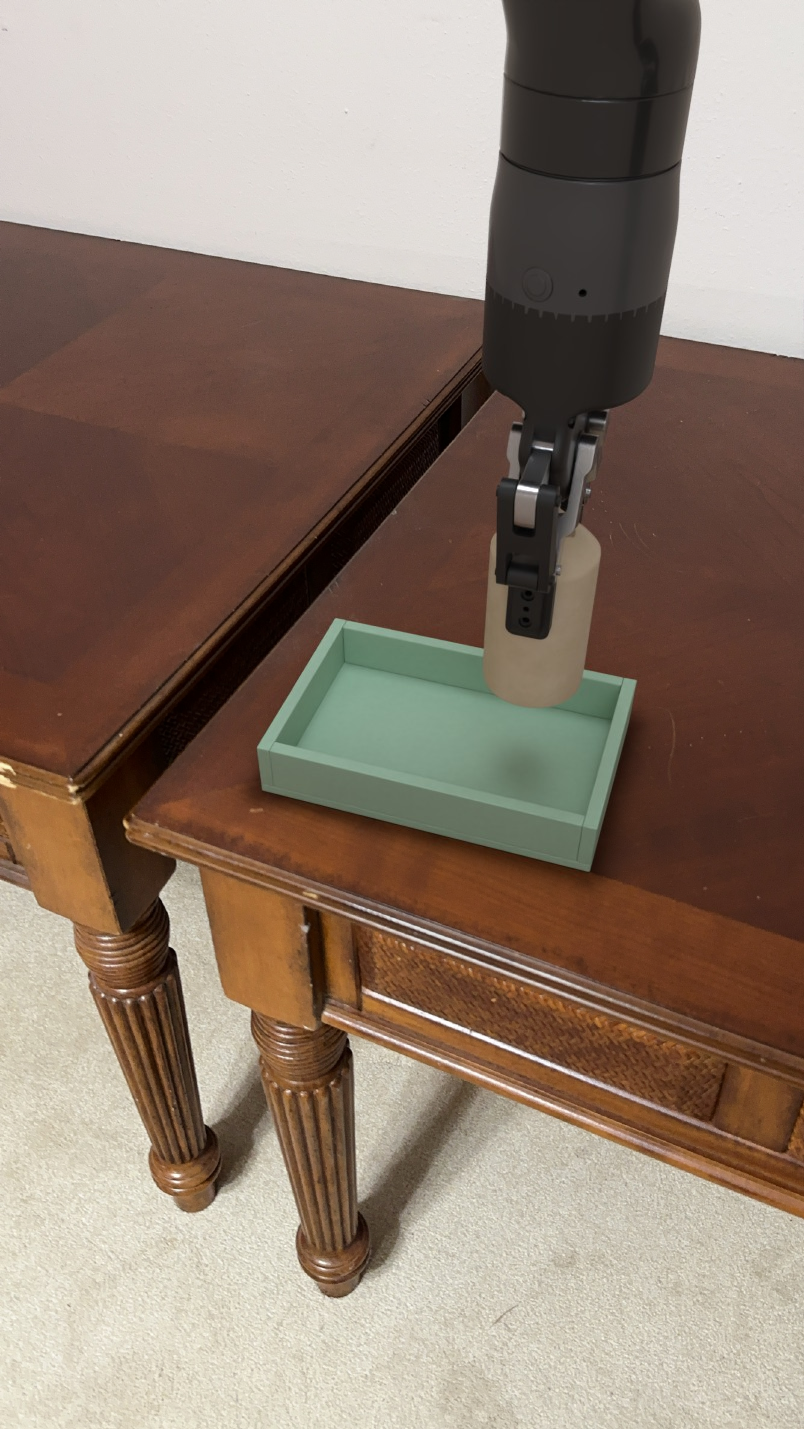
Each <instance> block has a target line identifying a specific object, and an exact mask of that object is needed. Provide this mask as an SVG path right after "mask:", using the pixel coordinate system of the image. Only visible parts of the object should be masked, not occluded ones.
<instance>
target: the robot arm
mask: <svg viewBox="0 0 804 1429" xmlns="http://www.w3.org/2000/svg"><path fill="white" fill-rule="evenodd" d="M501 5H502V6H501V7H502V11H503V16H504V24H505V31H506V34H505V35H506V44H505V52H504V63H503V73H502V92H501V107H500V108H501V109H500V127H499V144H498V145H499V149H498V158H497V166H496V172H495V173H496V174H495V178H494V183H493V189H492V193H491V200H490V206H489V215H488V216H489V217H488V218H489V219H488V231H487V232H488V234H487V251H486V252H487V253H486V255H487V256H486V272H485V285H484V286H485V288H484V305H483V306H484V307H483V308H484V309H483V324H482V326H483V327H482V343H481V369H482V373H483V376H484V377H485V379H486V381H487V382H488V383H489V384H490V386H491V387H492V388H493V389H494V390H495V391H496V392H498V393H499V394H501V395H502V396H504V397H507V398H508V399H509V400H511V401H512V402H513V403H515V404H516V405H517V406H518V407H519V408H520V409H521V410H522V412H521V422H520V421H513V422H512V423H511V427H510V431H509V435H508V440H507V441H508V442H507V447H506V458H507V461H508V462H509V470H508V476H502V477H501V480H500V482H499V484H497V485H496V490H495V497H496V532H497V534H496V568H495V576H496V584H501V585H507V586H508V596H507V608H506V621H505V628H506V630H507V631H508V632H509V633H511V634H513V635H518V636H523V637H528V638H533V639H538V640H543V639H545V638H547V636H548V634H549V632H550V629H551V626H552V618H553V610H554V601H555V593H556V584H557V578H558V576H560V575H561V572H562V565H560V564H561V559H562V553H563V548H564V542H565V537H566V536H567V535H569V534H571V533H572V532H573V531H574V530H575V529H576V528H577V527H578V524H579V523H580V524H581V525H582V522H583V514H584V505H587V503H588V499H591V496H592V490H593V489H592V488H591V483H592V482H594V481H596V480H597V478H598V473H599V469H600V466H601V462H602V459H603V445H604V443H605V440H606V436H607V432H608V429H609V425H610V419H611V418H610V417H611V409H614V408H617V407H621V406H623V405H625V404H627V403H630V402H632V401H633V400H635V399H636V398H638V397H639V396H641V394H642V393H644V391H645V390H646V389H648V386H649V385H650V383H651V382H652V379H653V376H654V371H655V365H656V360H657V355H658V354H657V353H658V347H659V341H660V336H661V335H660V334H661V328H662V322H663V318H664V317H663V316H664V311H665V305H666V299H667V292H668V288H669V279H670V273H671V267H672V263H673V262H672V261H673V255H674V250H675V244H676V238H677V232H678V225H679V218H680V216H679V215H680V190H681V171H682V164H683V163H682V162H683V153H684V147H685V140H686V135H687V129H688V123H689V115H690V109H691V103H692V97H693V92H694V84H695V79H696V74H697V68H698V63H699V62H698V61H699V54H700V46H701V38H702V12H701V10H702V9H701V4H700V0H501ZM559 509H562V510H563V511H564V512H565V513H558V511H559Z"/></svg>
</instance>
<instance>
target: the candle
mask: <svg viewBox="0 0 804 1429" xmlns="http://www.w3.org/2000/svg"><path fill="white" fill-rule="evenodd" d="M558 513H565V512H564V511H563V510H562V509H559V511H558ZM496 534H497V531H496V532H495V533H494V534H493V536H492V538H491V540H490V546H489V547H490V548H489V561H488V562H489V563H488V576H487V577H488V578H487V592H486V607H485V624H484V639H483V649H484V652H483V675H484V680H485V683H486V684H487V686H488V688H489V689H490V690H491V691H492V692H493V693H494V694H495V695H496V696H498V697H499V698H501V699H502V700H504V701H506V702H509V703H511V704H514V705H517V706H522V707H528V708H544V707H550V706H555V705H558V704H561V703H563V702H565V701H567V700H568V699H570V698H571V697H572V696H573V695H574V694H575V693H576V692H577V690H578V689H579V686H580V684H581V681H582V677H583V671H584V670H585V664H586V658H587V653H588V652H587V651H588V646H589V645H588V644H589V637H590V630H591V624H592V618H593V612H594V611H593V610H594V604H595V597H596V591H597V583H598V577H599V570H600V563H601V556H602V548H601V544H600V542H599V540H598V539H597V538H596V536H595V535H594V534H593V533H592V532H591V531H590V530H589V529H587V527H585V526H584V525H583V524H582V523H581V524H580V523H579V524H578V527H577V528H576V529H575V530H574V531H573V532H572V533H571V534H569V535H567V536H566V537H565V542H564V548H563V553H562V559H561V564H560V565H562V572H561V575H560V576H558V578H557V584H556V593H555V601H554V610H553V618H552V626H551V629H550V632H549V634H548V636H547V638H545V639H543V640H538V639H533V638H528V637H523V636H518V635H513V634H511V633H509V632H508V631H507V630H506V628H505V621H506V608H507V596H508V586H507V585H501V584H496V576H495V568H496Z"/></svg>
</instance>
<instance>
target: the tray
mask: <svg viewBox="0 0 804 1429" xmlns="http://www.w3.org/2000/svg"><path fill="white" fill-rule="evenodd" d="M330 624H331V625H330V626H329V628H328V629H327V631H326V633H325V635H324V636H323V637H322V639H321V640H320V642H319V644H318V646H317V648H316V649H315V651H314V652H313V654H312V656H311V657H310V659H309V661H308V662H307V664H306V666H305V667H304V669H303V671H302V672H301V674H300V675H299V677H298V679H297V681H296V682H295V684H294V685H293V687H292V689H291V690H290V692H289V693H288V696H286V698H285V700H284V701H283V703H282V705H281V707H280V709H278V712H277V713H276V715H275V717H274V718H273V720H272V722H271V723H270V725H269V727H268V728H267V729H266V732H264V735H263V736H262V738H261V740H259V743H258V745H257V747H256V753H257V754H256V755H257V761H258V762H257V763H258V768H259V775H260V783H261V790H262V791H263V792H267V793H270V794H275V795H279V796H283V797H288V798H292V799H296V800H299V801H304V802H307V803H311V804H315V805H319V806H324V807H327V808H331V809H336V810H339V811H344V812H347V813H352V814H355V815H359V816H362V817H366V818H367V817H368V818H371V819H375V820H378V821H379V820H380V821H383V822H387V823H391V824H396V825H399V826H403V827H407V828H411V829H415V830H419V831H423V832H426V833H431V834H434V835H435V834H436V835H439V836H443V837H447V838H451V839H455V840H459V841H464V842H468V843H471V844H475V845H479V846H484V847H487V848H491V849H496V850H498V851H499V850H500V851H504V852H507V853H511V854H515V855H519V856H524V857H527V858H531V859H536V860H540V861H543V862H547V863H552V864H556V865H559V866H563V867H567V868H571V869H575V870H579V871H584V872H588V873H589V872H591V868H592V865H593V861H594V858H595V854H596V850H597V846H598V842H599V838H600V834H601V831H602V826H603V823H604V818H605V816H606V811H607V808H608V804H609V800H610V796H611V792H612V790H613V789H612V788H613V785H614V781H615V778H616V773H617V770H618V766H619V763H620V759H621V755H622V752H623V747H624V743H625V739H626V735H627V732H628V728H629V724H630V719H631V714H632V710H633V709H632V708H633V703H634V698H635V693H636V688H637V683H638V680H637V679H632V678H628V677H622V676H618V675H613V674H609V673H602V672H598V671H593V670H588V669H584V671H583V677H582V681H581V684H580V686H579V689H578V690H577V692H576V693H575V694H574V695H573V696H572V697H571V698H570V699H568V700H567V701H565V702H563V703H561V704H558V705H555V706H550V707H544V708H528V707H522V706H517V705H514V704H511V703H509V702H506V701H504V700H502V699H501V698H499V697H498V696H496V695H495V694H494V693H493V692H492V691H491V690H490V689H489V688H488V686H487V684H486V683H485V680H484V675H483V652H484V647H483V648H482V647H477V646H472V645H468V644H462V643H458V642H454V641H449V640H443V639H439V638H434V637H429V636H424V635H419V634H414V633H409V632H405V631H400V630H395V629H390V628H386V627H380V626H377V625H376V626H375V625H371V624H366V623H362V622H357V621H351V620H346V619H343V618H337V617H335V618H334V620H333V621H332V622H331V623H330Z"/></svg>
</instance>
